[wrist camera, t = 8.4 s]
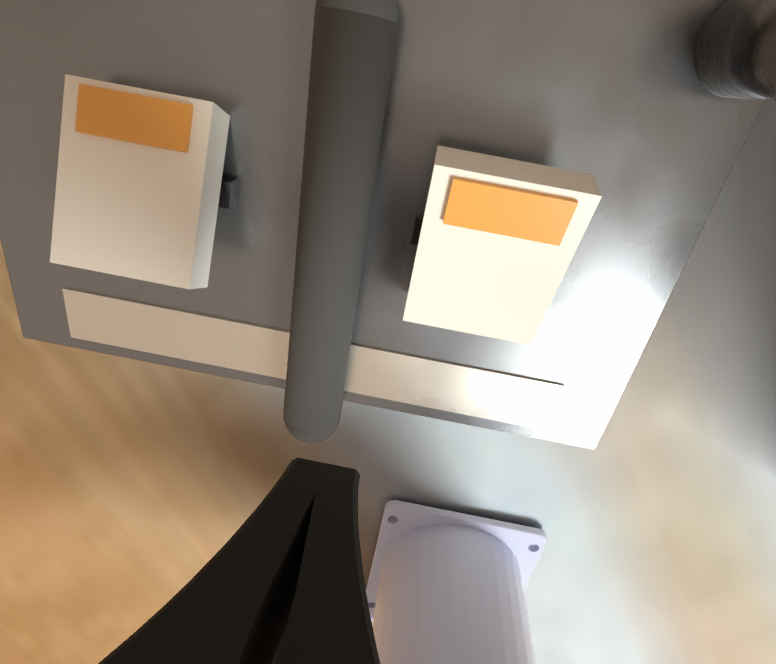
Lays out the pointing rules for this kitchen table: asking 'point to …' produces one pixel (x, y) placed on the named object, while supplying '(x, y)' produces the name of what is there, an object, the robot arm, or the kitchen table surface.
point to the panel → (399, 183)
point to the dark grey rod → (335, 202)
